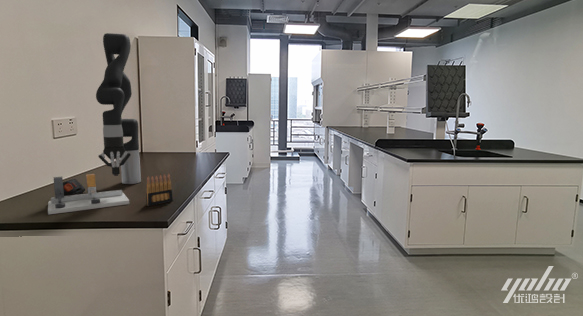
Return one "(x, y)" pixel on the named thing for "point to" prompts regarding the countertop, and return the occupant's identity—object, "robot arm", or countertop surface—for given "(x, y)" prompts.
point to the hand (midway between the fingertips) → (116, 175)
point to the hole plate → (87, 204)
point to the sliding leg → (91, 184)
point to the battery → (72, 187)
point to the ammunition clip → (158, 190)
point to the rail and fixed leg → (61, 198)
